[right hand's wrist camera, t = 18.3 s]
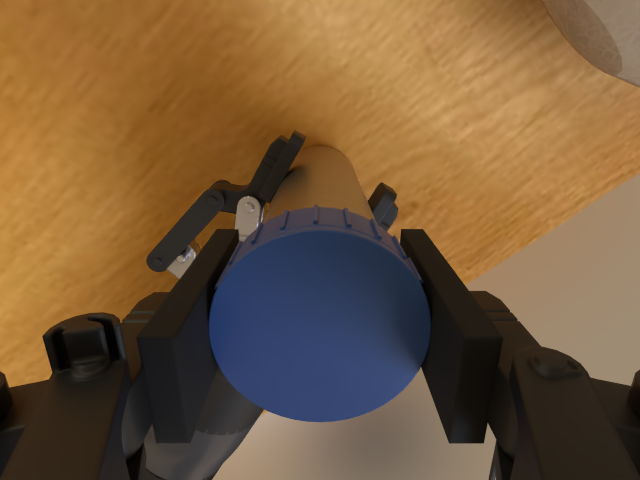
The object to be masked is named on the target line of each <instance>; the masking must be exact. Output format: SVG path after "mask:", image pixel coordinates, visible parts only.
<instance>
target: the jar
mask: <svg viewBox="0 0 640 480" xmlns="http://www.w3.org/2000/svg"><path fill="white" fill-rule="evenodd" d="M314 205H318V207H327V208H336V209H342V210H344V207H345V208H348V211H350V212H353V213H356V214H359V215H361V216H363V217H365V218H367V219H369V220H371V218H373V219H375V218H374V216H373V213H372V211H371V209H370V206H369V204H368V202H367V199H366V197H365V195H364V192H363V190H362V188H361V186H360V183H359V181H358V179H357V176H356V174H355V172H354V169H353V167H352V165H351V163H350V161H349V160H348V159H347V157H346V156H345V155H343V154H342V153H341V152H340V151H338V150H336V149H334V148H332V147H328V146H321V145H320V146H311V147H308V148H306V149H303V150H302V151H300V152H299V153H298V154H297V156H296V157H295V159H294V161H293V163H292V165H291V166H290V168H289V170H288V172H287V174H286V175H285V177H284V179H283V181H282V183H281V184H280V186H279V188H278V190H277V191H276V194H275V196H274V198H273V201H272V203H271V205H270V208H269V210H268V212H267V215H266V217H265V219H264V222H263V224H264V223H266V222H267V221H269V220H271V219H273V218H275V217H277V216H279V215H281V214H284V211H285V210H289V212H290V211H293V210H298V209H303V208H313V207H314ZM375 221H376V220H375ZM376 223H377V222H376Z"/></svg>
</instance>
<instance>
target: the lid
mask: <svg viewBox="0 0 640 480" xmlns="http://www.w3.org/2000/svg"><path fill="white" fill-rule="evenodd" d="M421 283H423V281H422V279H421V277H420V275H419V273H418V271H417V270H416V268H415V266H414V264H413V262H412V260H411V259H410V257H409V258H407V256H406V254H405V253H404V251H403V249H402V247H401V245H400V243H399V241H398V239H397V237H396V236H395V235H394V236H393V237H392V236H391V235H390V234H389V233H388V232H386V231H385V230H384V229H383V228H382V227H380V226H379V225H377V223H376V221H375V219H373V218H371V220H369V219H367V218H365V217H363V216H361V215H359V214H356V213H353V212H350V211H348V208H345V207H344V210H342V209H336V208H327V207H318V205H314V207H313V208H303V209H298V210H293V211H290V212H289V210H285V211H284V214H281V215H279V216H277V217H275V218H273V219H271V220H269V221H267V222H266V223H264V224H263V223H262V222H261V223H259V224H258V226H257V228H256V230H255V231H253V232H252V233H251V234H250V235H249V236H248V237H247V238H246V239H245V241H244V242H242V241H240V242H239V243H238V245H237V247H236V249H235V251H234V253H233V255H232V256H231V258H230V260H229V262H228V264H227V265H226V267H225V269H224V270H223V272H222V274H221V276H220V278H219V280H218V282H217V284H216V285H215V288H214V290H216V292H215V294H214V296H213V300H212V303H211V307H210V311H209V320H208V328H209V338H210V344H211V349H212V352H213V354H214V357H215V360H216V362H217V364H218V366H219V368H220V370H221V371H222V373H223V374H224V376H225V377H226V378H227V380H228V381H229V382H230V383H231V384H232V386H233V387H234V388H235V389H236V390H237V391H238V392H240V393H241V394H242V395H243V396H244V397H245V398H247V399H248V400H250V401H251V402H253V403H254V404H256V405H257V406H259V407H261V408H263V409H265V410H267V411H269V412H272V413H274V414H277V415H280V416H283V417H286V418H290V419H294V420H301V421H308V422H331V421H339V420H345V419H349V418H353V417H357V416H360V415H363V414H365V413H368V412H371V411H373V410H375V409H377V408H379V407H381V406H382V405H384V404H386V403H387V402H389V401H390V400H392V399H393V398H394V397H395V396H397V395H398V394H399V393H400V392H401V391H403V390H404V389H405V387H406V386H407V385H408V384H409V383H410V382H411V381H412V380H413V378H414V377H415V375H416V374H417V372H418V371H419V369H420V367H421V365H422V363H423V361H424V360H425V357H426V354H427V351H428V348H429V343H430V336H431V324H432V321H431V313H430V307H429V304H428V300H427V297H426V294H425V292H424V290H423V288H422V286H421Z"/></svg>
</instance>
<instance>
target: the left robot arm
mask: <svg viewBox="0 0 640 480" xmlns="http://www.w3.org/2000/svg"><path fill="white" fill-rule="evenodd" d="M305 139H306V136H304V135H302V134H301V133H299V132H297V131H296V130H295V131H294V132H293V134H292V136H291V138H290V139H287V138H285V137H284V136H282V135H281V136H280V137H278V138H277V139H276V140H275V141H274V142H273V143H272V144H271V145H270V147H269V149H268V151H267V152H266V154H265V156H264V158H263V160H262V162H261V164H260V166H259V168H258V169H257V171H256V173H255V175H254V177H253V179H252V181H251V183H249V184H247V185H244V186H240V185H234V184H231V183H229V182H228V181H226V180H219V181H217V182H215V183H214V184H213V185H212V186H211V187H210V188H209V189H207V190H206V191H205V192H204V193H203V194H202V195H201V196H200V197H199V199H198V200H197V201H196V202H195V203H194V204H193V205H192V206H191V208H190V209H189V210H188V211H187V212H186V213H185V214H184V216H183V217H182V218H181V219H180V220H179V221H178V222H177V223H176V225H175V226H174V227H173V228H172V229H171V230H170V231H169V232H168V234H167V235H166V236H165V237H164V238H163V239H162V240H161V242H160V243H159V244H158V245H157V246H156V247H155V248H154V249H153V251H152V252H151V253H150V254H149V255H148V257H147V264H148V266H149V268H150V269H152V270H153V271H156V272H163V271H165V270H166V269H167V270H168V271H169V272H171V273H172V274H173V275H175V276H176V277H177V278H178V279H180V278H181V277H182V275H183V274H184V273H185V271H186V270H187V269H188V267H189V266H190V265H191V263H192V262H193V261H194V259H195V258H196V257H197V255H198V254H199V252H200V247H199V244H198V243H197V242H196V241H195V240H194V239H195V237H196V236H197V235H198V234H199V233H200V232H201V231H202V230H203V229H204V228H205V226H206V225H207V224H208V223H209V222H210V221H211V220H212V219H213V218H214V217H215V216H216V214H217V213H218V212H219V211H223V212H229V213H235V214H236V222H235V229H239V242H240V241H242V242H244V241H245V239H246V238H247V237H248V236H249V235H250V234H251V233H252V232H253V231H255V230H256V228H257V226H258V224H259V223H261V222H262V223H263V218H264V210H265V204H266V202H268V203H270V202H271V201H272V199H273V197H274V195H275V193H276V191H277V190H278V188H279V186H280V184H281V183H282V181H283V179H284V177H285V175H286V174H287V172H288V170H289V168H290V166H291V165H292V163H293V161H294V159H295V157H296V156H297V154H298V152H299V150H300V148H301V147H302V145H303V143H304V141H305ZM396 196H397V194H396V193H395V191H394V190H393V189H392V188H391V187H389V186H387V185H385V184H384V183H382V182H381V183H380V184H379V185H378V186H377V188H376V189H375V191H374V192H373V194H372V196H371V197H370V199H369V200H368V204H369V206H370V209H371V211H372V213H373V216H374V218H375V220H376V222H377V225H379V226H380V227H382V228H383V229H384V230H385V231H386V232H387V231H388V229H389V227H390V226H391V225H392V223H393V222H394V220H395V219H396V216H397V212H398V207H397V206H396V205H395V203H394V201H395V199H396ZM263 410H264V409H263V408H261V407H259V406H257V405H256V404H254V403H253V402H251V401H250V400H248V399H247V398H245V397H244V396H243V395H242V394H241V393H240V392H238V391H237V390H236V389H235V388H234V387H233V386H232V384H231V383H230V382H229V381H228V380H227V378H226V377H225V376H224V374H223V373H222V371H221V370H220V368H219V367H218V370H217V373H216V375H215V378H214V381H213V383H212V386H211V389H210V392H209V394H208V397H207V400H206V403H205V405H204V408H203V411H202V413H201V416H200V419H199V422H198V424H197V427H196V430H195V432H194V435H193V438H192V441H191V443H156V441H155V435H154V430H153V425H151V427H150V429H149V431H148V433H147V435H146V437H145V439H144V445H145V450H146V457H147V460H146V468H145V476H144V480H212V479H213V477H214V476H215V474H216V473H217V471H218V470H219V468H220V467H221V465H222V464H223V463H224V462H225V460H227V459H228V458H229V456H231V454H232V453H233V452H234V451H235V450H236V449H237V448H238V446H239V445H240V444H241V442H242V441H243V439H244V438H245V436H246V435H247V434H248V432H249V431H250V429H251V428H252V426H253V425H254V423H255V422H256V420H257V419H258V417H259V416H260V414H261V413H262V411H263Z"/></svg>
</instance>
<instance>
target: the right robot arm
mask: <svg viewBox="0 0 640 480" xmlns="http://www.w3.org/2000/svg"><path fill="white" fill-rule="evenodd" d="M238 243H239V229H217V230H216V231H215V232H214V234H213V235H212V236H211V238H210V239H209V240H208V242H207V243H206V244H205V246H204V247H203V248H202V250H201V251H200V253H199V254H198V255H197V257H196V258H195V259H194V261H193V262H192V263H191V265H190V266H189V267H188V269H187V270H186V271H185V273H184V274H183V275H182V277H181V278H180V279H179V281H178V282H177V283H176V285H175V286H174V287H173V289H172V290H171V291H170V292H154V293H152V294H151V295H149V296H147V297H146V298H144V299H142V300H141V301H139V302H138V303H137V304H136V306H135V307H134V308H133V309H132V310H131V311H130V314H128V315H127V316H126V317H125V318H124V320H123V322H122V323H120V320H119V318H117V317H116V316H115V315H113V314H108V313H89V314H84V315H79V316H75V317H72V318H70V319H67V320H64V321H62V322H60V323H58V324H57V325H55V326H53V327H51V328H50V329H49V330H48V331H47V332H46V333H45V334H44V335H43V336H42V337H43V340H44V344H45V347H46V351H47V354H48V358H49V361H50V365H51V368H52V372H53V373H52V375H51V377H50V379H49V380H45V381H41V382H36V383H31V384H26V385H21V386H16V387H11V388H9V386H8V383H7V380H6V377H5V375H4V374H3V373H2V372H0V480H144V476H145V468H146V460H147V457H146V450H145V445H144V439H145V437H146V435H147V433H148V431H149V429H150V427H151V425H153V430H154V435H155V441H156V443H191V441H192V438H193V435H194V432H195V430H196V427H197V424H198V422H199V419H200V416H201V413H202V411H203V408H204V405H205V403H206V400H207V397H208V394H209V392H210V389H211V386H212V383H213V381H214V378H215V375H216V373H217V370H218V367H219V366H218V364H217V362H216V360H215V357H214V354H213V352H212V349H211V344H210V338H209V328H208V320H209V311H210V307H211V303H212V300H213V296H214V294H215V292H216V290H214V288H215V285H216V284H217V282H218V280H219V278H220V276H221V274H222V272H223V270H224V269H225V267H226V265H227V264H228V262H229V260H230V258H231V256H232V255H233V253H234V251H235V249H236V247H237V245H238ZM400 245H401V247H402V249H403V251H404V253H405V254H406V256H407V258H409V257H410V259H411V260H412V262H413V264H414V266H415V268H416V270H417V271H418V273H419V275H420V277H421V279H422V281H423V283H421V286H422V288H423V290H424V292H425V294H426V297H427V300H428V304H429V307H430V313H431V321H432V324H431V336H430V343H429V348H428V351H427V354H426V357H425V360H424V361H423V363H422V365H421V368H422V371H423V373H424V376H425V379H426V381H427V384H428V387H429V389H430V392H431V395H432V398H433V400H434V403H435V406H436V409H437V411H438V414H439V417H440V420H441V422H442V425H443V428H444V430H445V433H446V436H447V439H448V441H449V443H484V439H485V434H486V428H487V423H488V424H489V426H490V428H491V430H492V431H493V434H494V436H495V438H496V445H495V450H494V455H493V460H492V465H491V470H490V475H489V480H495V477H496V480H640V370H639V371H637V372H636V373H635V376H634V379H633V382H632V385H631V386H628V385H623V384H618V383H613V382H608V381H603V380H598V379H594V378H590V376H589V374H588V372H587V371H586V370H585V369H584V367H583V366H582V365H581V364H580V363H579V362H577V361H576V360H575V359H573V358H572V357H570V356H568V355H566V354H564V353H561V352H559V351H557V350H553V349H549V348H545V347H541V346H540V345H539V344H538V342H537V341H536V340H535V339H534V338H533V337H532V335H531V334H530V333H529V332H528V331H527V330H526V329H525V327H524V326H523V325H522V324H521V323H520V322H519V321H517V318H516V317H515V316H514V315H513V314H512V313H510V310H509V309H508V308H507V307H506V305H505V304H504V303H503V302H502V301H501V300H500V299H498V298H497V297H495V296H493V295H492V294H490V293H488V292H486V291H469V290H468V289H467V288H466V286H465V285H464V284H463V282H462V281H461V280H460V278H459V277H458V276H457V274H456V273H455V272H454V270H453V269H452V268H451V266H450V265H449V264H448V262H447V261H446V260H445V258H444V257H443V256H442V254H441V253H440V252H439V250H438V249H437V248H436V246H435V245H434V243H433V242H432V241H431V239H430V238H429V237H428V235H427V234H426V233H425V231H424V230H423V229H401V238H400Z"/></svg>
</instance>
